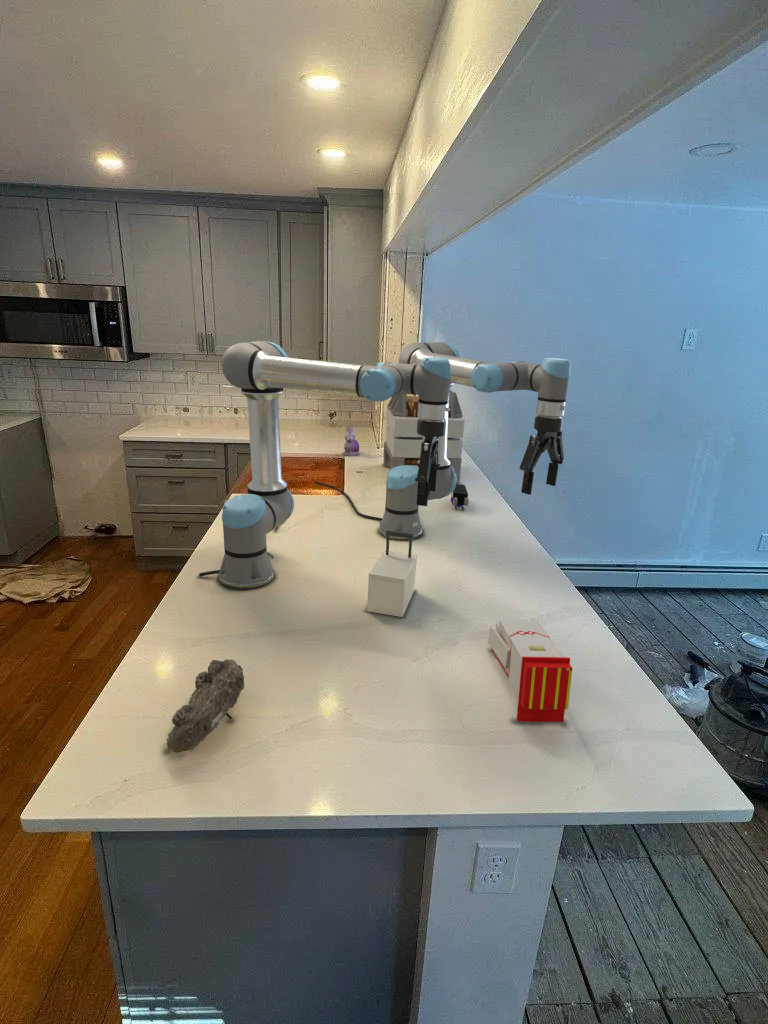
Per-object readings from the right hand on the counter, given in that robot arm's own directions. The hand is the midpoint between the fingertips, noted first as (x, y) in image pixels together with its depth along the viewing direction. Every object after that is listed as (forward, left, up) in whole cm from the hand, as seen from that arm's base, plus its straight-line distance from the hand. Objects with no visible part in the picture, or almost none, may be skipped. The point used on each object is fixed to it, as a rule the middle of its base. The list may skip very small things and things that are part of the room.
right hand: (538, 489), depth 164 cm
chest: (-12, -45, -27) cm, 54 cm away
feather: (-82, -36, -27) cm, 94 cm away
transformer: (-99, +50, -27) cm, 115 cm away
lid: (-12, -45, -17) cm, 49 cm away
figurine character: (-55, +30, -27) cm, 69 cm away
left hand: (-13, -33, 0) cm, 35 cm away
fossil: (+2, -103, -27) cm, 106 cm away
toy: (+32, -45, -27) cm, 61 cm away
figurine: (-146, +45, -27) cm, 156 cm away
